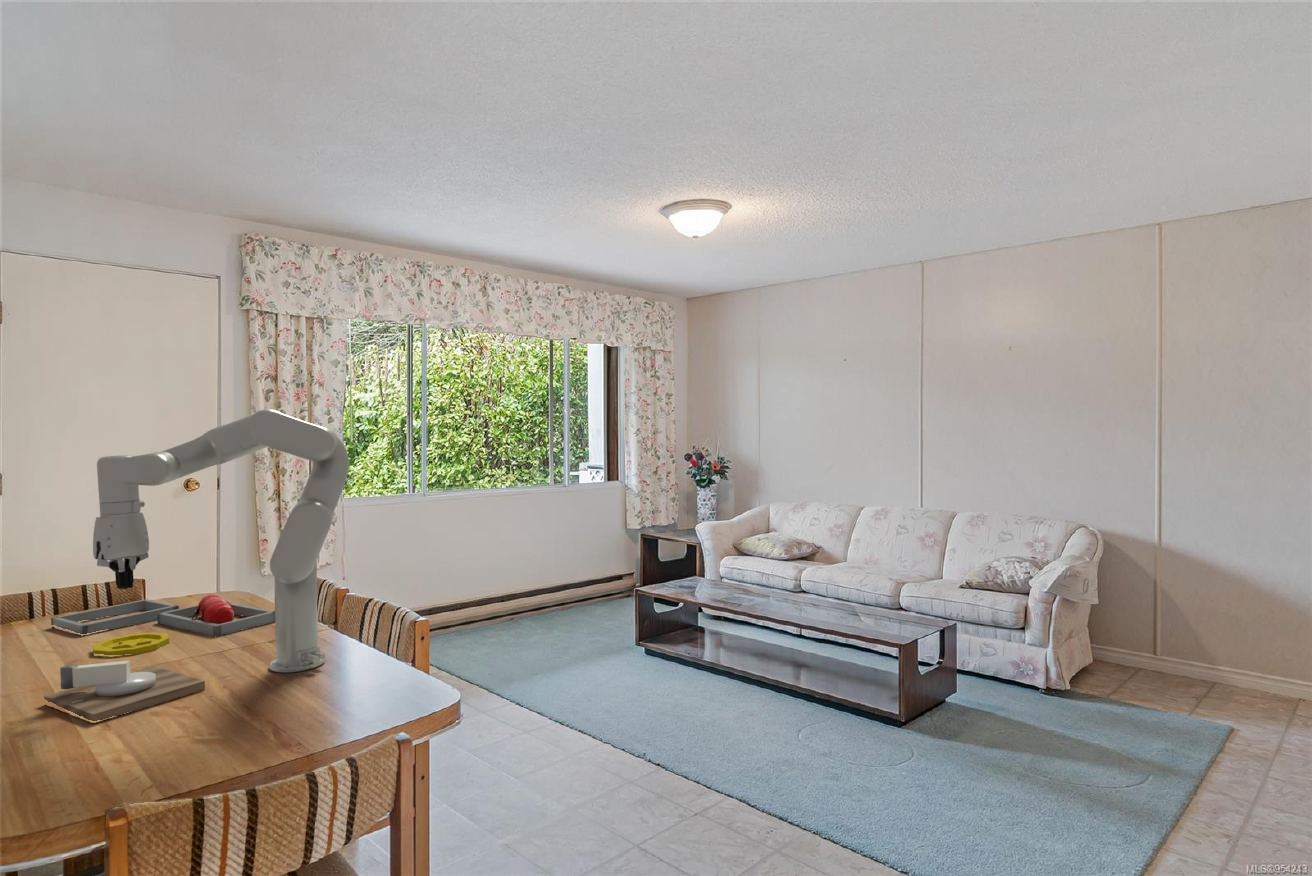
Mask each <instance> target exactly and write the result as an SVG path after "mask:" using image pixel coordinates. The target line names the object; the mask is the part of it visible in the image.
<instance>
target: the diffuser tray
mask: <svg viewBox="0 0 1312 876" xmlns="http://www.w3.org/2000/svg"><path fill="white" fill-rule="evenodd" d="M176 609H180V605H177V604H173V603H167V602H163V601H159V600H152V599H148V598H145V599H141V600H136V601H131V602H125V603H121V604H116V605H111V606H105V607H100V608H96V609H90V610H85V611H80V612H73V613H70V614H65V615H61V616H60V615H58V616H54V617H50V626H51V625H56V626H58V627H61V628H63V629H68V630H71V631H74V632H76V633H80V634H87V633H92V632H96V631H100V630H105V629H114V630H116V629H115V628H118V629H120V628H119V627H123V628H125V627H124V626H127V627H131V626H130V625H132V626H136V625H141V624H145V623H148V622H149V621H150V622H154V621H158V613H162V612H167V611H171V610H176ZM141 611H142V612H141ZM135 612H137V613H135ZM131 613H132V614H131ZM125 614H128V615H125ZM112 615H117V616H119V617H114V618H108V619H103V620H98V621H94V622H90V623H89V622H88V623H84V622H83V623H79V622H78V621H82V620H92V619H96V618H101V617H106V616H112ZM120 615H122V616H120ZM123 615H124V616H123ZM112 617H113V616H112ZM153 620H154V621H153ZM92 621H93V620H92ZM150 622H149V623H150Z"/></svg>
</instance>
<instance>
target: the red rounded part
mask: <svg viewBox="0 0 1312 876" xmlns="http://www.w3.org/2000/svg"><path fill="white" fill-rule="evenodd" d="M226 602H227V603H229V604H230V603H231V602H230V601H227V600H226V599H225V598H224V597H223V596H221V595H218V594H208V595H206V596H203V597H202V599H201V600H200V602H198V604H197V605H198V609H196V610H194V611H195V614H194V615H193V617H191V619H196V620H198V616H199V615H198V614H201V618H202V619H203V621H205V622H210V623H214V624H222V623H226V622H230V621H234V617H235V615H234V612H233V609H232V608H233V606H232V607H231V604H230V605H228V604H227V603H226ZM196 613H197V614H196ZM195 615H196V616H195Z"/></svg>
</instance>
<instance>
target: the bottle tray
mask: <svg viewBox="0 0 1312 876" xmlns="http://www.w3.org/2000/svg"><path fill="white" fill-rule="evenodd" d="M227 602H228V601H227ZM227 602H226V603H227ZM229 603H230V604H231V607H232V606H233V608H232V609H233V612H234V616H239V615H243V616H246V617H243V616H242V617H243V618H239V619H235V620H234V619H233V621H230V622H226V623H222V624H214V623H210V622H205V620H200V619H195V618H193V619H192V616H193V615H194V614H195V611H194V610H196V609H198V605H199V604H197V605H196V604H195V605H191V606H186V607H182V608H179V609H176V610H171V611H167V612H162V613H158V620H157V624H159V625H163V626H168V627H173V628H177V629H182V630H187V631H189V630H190V632H195V633H199V634H202V635H203V634H204V635H207V634H208V635H207V636H211V635H212V636H211V637H215V636H216V637H215V638H217V637H220V635H221V636H224V635H223V634H225V635H229V634H233V633H236V631H237V632H240V631H239V630H241V631H243V630H242V629H245V630H247V629H248V628H249V629H252V628H251V627H253V628H256V627H255V626H257V627H259V626H258V625H260V626H263V625H264V626H265V625H268V624H271V623H275V610H270V609H266V608H260V607H255V606H250V605H244V604H239V603H234V602H229ZM229 603H227V604H228V605H230V604H229ZM196 614H197V613H196ZM200 615H201V614H198V616H200Z"/></svg>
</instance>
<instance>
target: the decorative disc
mask: <svg viewBox="0 0 1312 876" xmlns="http://www.w3.org/2000/svg"><path fill="white" fill-rule="evenodd" d="M167 644H168V645H170V636H169V635H168V633H166V632H165V633H161V632H154V631H153V632H144V633H143V632H141V633H136V634H135V633H133V634H132V633H131V634H127V635H121V636H118V637H112V638H108V639H105V640H102V641H101V642H98V643H95V644H93V645H92V651H94V653H95V654H104V655H125V654H137V653H141V654H143V653H142V652H145V653H149V652H153V651H152V650H154V651H157V650H156V649H158V650H160V649H161V648H160V647H162V648H163V646H164V647H165V645H166V646H168V645H167ZM103 647H108V648H107V649H104V648H103ZM110 647H111V648H110ZM159 648H160V649H159ZM94 653H93V654H94ZM137 655H138V654H137Z"/></svg>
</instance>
